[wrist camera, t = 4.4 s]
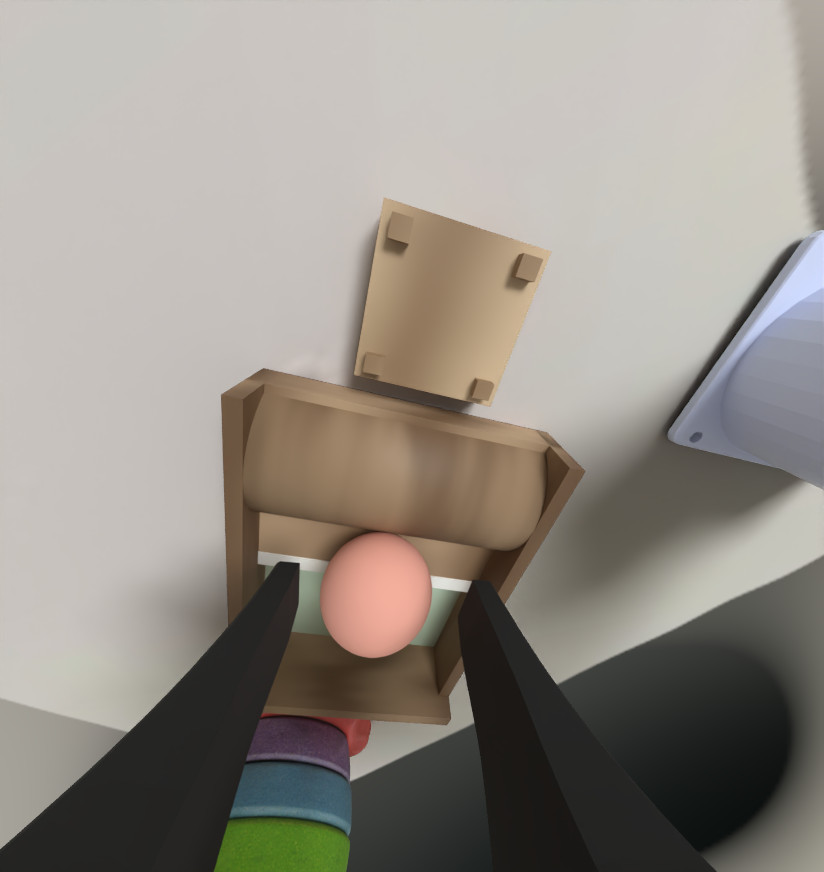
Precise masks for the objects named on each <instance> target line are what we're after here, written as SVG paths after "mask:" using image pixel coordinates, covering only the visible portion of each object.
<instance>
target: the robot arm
mask: <svg viewBox="0 0 824 872" xmlns="http://www.w3.org/2000/svg"><path fill="white" fill-rule="evenodd" d="M668 438H669V440H671V441H672V442H674V443H676V444H678V445H682V446H686V447H691V448H695V449H699V450H703V451H708V452H712V453H716V454H720V455H724V456H729V457H733V458H737V459H741V460H746V461H750V462H754V463H758V464H762V465H767V466H771V467H775V468H779V469H782V470H784V471H786V472H788V473H790V474H792V475H794V476H797V477H799V478H801V479H803V480H805V481H807V482H809V483H811V484H813V485H815V486H817V487H819V488H821V489H823V490H824V230H821V231H817V232H814V233H812V234H810V235H809V236H808V237H806V238H805V239H804V240H803V241H802V243H801V244H800V245H799V246H798V248H797V249H796V251H795V252H794V253H793V255H792V256H791V258H790V259H789V260H788V262H787V263H786V265H785V266H784V268H783V269H782V270H781V272H780V273H779V275H778V276H777V277H776V279H775V280H774V282H773V283H772V285H771V286H770V287H769V289H768V290H767V292H766V293H765V295H764V296H763V297H762V299H761V300H760V302H759V303H758V304H757V306H756V307H755V309H754V310H753V312H752V313H751V314H750V316H749V317H748V319H747V320H746V321H745V323H744V324H743V326H742V327H741V329H740V330H739V331H738V333H737V334H736V336H735V337H734V338H733V340H732V341H731V343H730V344H729V346H728V347H727V348H726V350H725V351H724V353H723V354H722V356H721V357H720V358H719V360H718V361H717V363H716V364H715V365H714V367H713V368H712V370H711V371H710V373H709V374H708V375H707V377H706V378H705V380H704V381H703V382H702V384H701V385H700V387H699V388H698V390H697V391H696V392H695V394H694V395H693V397H692V398H691V399H690V401H689V402H688V404H687V405H686V407H685V408H684V409H683V411H682V412H681V414H680V415H679V417H678V418H677V419H676V421H675V422H674V424H673V425H672V426H671V428H670V429H669V432H668ZM299 578H300V563H295V562H284V561H280V562H278V563H276V565H275V566H274V568H273V569H272V571H271V572H270V574H269V575H268V577H267V578H266V579H265V581H264V582H263V583H262V585H261V586H260V588H259V589H258V590H257V592H256V593H255V594H254V595H253V597H252V598H251V599H250V601H249V602H248V603H247V604H246V606H245V607H244V608H243V609H242V611H241V612H240V613H239V614H238V615H237V617H236V618H235V619H234V620H233V621H232V623H231V624H230V625H229V626H228V628H227V629H226V630H225V631H224V632H223V634H222V635H221V636H220V637H219V638H218V639H217V640H216V642H215V643H214V644H213V645H212V646H211V647H210V648H209V649H208V650H207V652H206V653H205V654H204V655H203V656H202V657H201V658H200V659H199V661H198V662H197V663H196V664H195V665H194V666H193V667H192V668H191V669H190V671H189V672H188V673H187V674H186V675H185V676H184V677H183V678H182V679H181V680H180V681H179V682H178V683H177V684H176V685H175V686H174V687H173V689H172V690H171V691H170V692H169V693H168V694H167V695H166V696H165V697H164V698H163V699H162V700H161V701H160V702H159V703H158V704H157V705H156V706H155V707H154V708H153V709H152V710H151V711H150V712H149V713H148V714H147V715H146V716H145V717H144V718H143V719H142V720H141V721H140V722H139V723H138V724H137V725H136V726H135V727H134V728H133V729H132V730H131V731H130V732H128V733H127V734H126V735H125V736H124V737H123V738H122V739H121V740H120V741H119V742H118V743H117V744H116V745H115V746H114V747H113V748H112V749H111V750H110V751H109V752H108V753H107V754H106V755H105V756H104V757H102V758H101V759H100V760H99V761H98V762H97V763H96V764H95V765H94V766H93V767H92V768H91V769H90V770H89V771H88V772H87V773H85V774H84V775H83V776H82V777H81V778H80V779H79V780H78V781H77V782H75V783H74V784H73V785H72V786H71V787H70V788H69V789H68V790H66V791H65V792H64V793H63V794H62V795H61V796H60V797H59V798H58V799H56V800H55V801H54V802H53V803H52V804H51V805H50V806H49V807H47V808H46V809H45V810H44V811H43V812H42V813H41V814H40V815H39V816H37V817H36V818H35V819H34V820H33V821H32V822H31V823H30V824H29V825H27V826H26V827H25V828H24V829H23V830H22V831H21V832H19V833H18V834H17V835H16V836H15V837H14V838H13V839H12V840H10V841H9V842H8V843H7V844H6V845H5V846H4V847H2V848H1V849H0V872H214V870H215V866H216V863H217V859H218V855H219V852H220V848H221V845H222V841H223V838H224V834H225V831H226V828H227V824H228V821H229V817H230V814H231V810H232V807H233V803H234V800H235V796H236V793H237V789H238V786H239V783H240V779H241V776H242V773H243V769H244V766H245V762H246V759H247V756H248V752H249V749H250V746H251V743H252V740H253V737H254V734H255V731H256V728H257V726H258V723H259V720H260V718H261V715H262V712H263V709H264V707H265V704H266V701H267V699H268V696H269V693H270V690H271V688H272V685H273V682H274V680H275V677H276V674H277V672H278V669H279V666H280V663H281V661H282V658H283V655H284V652H285V650H286V647H287V644H288V641H289V638H290V635H291V631H292V627H293V624H294V620H295V616H296V612H297V609H298V605H299ZM458 626H459V638H460V648H461V655H462V660H463V665H464V671H465V676H466V681H467V686H468V691H469V696H470V702H471V707H472V712H473V717H474V722H475V727H476V732H477V737H478V744H479V749H480V756H481V763H482V772H483V780H484V788H485V795H486V804H487V814H488V824H489V833H490V841H491V852H492V862H493V872H716V871H715V870H714V869H713V867H711V865H709V864H708V863H707V861H706V860H705V859H704V858H703V857H702V856H701V855H700V854H699V853H698V852H697V851H696V850H695V849H694V848H693V847H692V846H691V845H690V844H689V842H688V841H687V840H686V839H685V838H684V837H683V836H682V835H681V834H680V833H679V832H678V831H677V830H676V828H675V827H674V826H673V825H672V824H671V823H670V822H669V821H668V820H667V819H666V818H665V817H664V816H663V815H662V813H661V812H660V811H659V810H658V809H657V808H656V807H655V805H654V804H653V803H652V802H651V801H650V800H649V799H648V797H647V796H646V795H645V794H644V793H643V792H642V791H641V790H640V788H639V787H638V786H637V785H636V784H635V783H634V782H633V780H632V779H631V778H630V777H629V776H628V775H627V773H626V772H625V771H624V770H623V769H622V768H621V767H620V765H619V764H618V763H617V762H616V761H615V760H614V759H613V757H612V756H611V755H610V753H609V752H608V751H607V750H606V749H605V747H604V746H603V745H602V744H601V742H600V741H599V740H598V739H597V738H596V736H595V735H594V734H593V733H592V731H591V730H590V729H589V727H588V726H587V725H586V724H585V722H584V721H583V720H582V718H581V717H580V716H579V715H578V713H577V712H576V711H575V709H574V708H573V707H572V705H571V704H570V703H569V701H568V700H567V699H566V697H565V696H564V694H563V693H562V692H561V691H560V689H559V688H558V686H557V685H556V683H555V682H554V680H553V679H552V678H551V676H550V675H549V673H548V672H547V670H546V669H545V668H544V666H543V665H542V663H541V662H540V660H539V659H538V657H537V656H536V654H535V653H534V651H533V650H532V648H531V646H530V645H529V643H528V642H527V640H526V639H525V637H524V636H523V634H522V633H521V631H520V629H519V628H518V626H517V625H516V623H515V621H514V620H513V618H512V616H511V615H510V613H509V612H508V610H507V608H506V607H505V605H504V603H503V602H502V600H501V598H500V597H499V595H498V593H497V592H496V590H495V588H494V587H493V585H492V583H491V582H490V581H484V580H472V583H471V585H470V588H469V590H468V592H467V595H466V597H465V600H464V602H463V605H462V607H461V610H460V612H459V614H458Z"/></svg>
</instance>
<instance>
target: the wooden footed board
mask: <svg viewBox="0 0 824 872" xmlns="http://www.w3.org/2000/svg"><path fill="white" fill-rule="evenodd" d="M550 254H551V251H548V250H545V249H542V248H539V247H536V246H533V245H529V244H526V243H523V242H520V241H517V240H514V239H511V238H508V237H505V236H502V235H499V234H496V233H492V232H489V231H486V230H483V229H480V228H477V227H474V226H471V225H468V224H465V223H462V222H458V221H455V220H452V219H449V218H446V217H443V216H440V215H437V214H434V213H431V212H428V211H424V210H421V209H418V208H415V207H412V206H409V205H406V204H403V203H400V202H397V201H394V200H390V199H387V198H384V200H383V206H382V212H381V218H380V224H379V229H378V235H377V241H376V247H375V253H374V259H373V265H372V271H371V277H370V282H369V288H368V294H367V300H366V306H365V312H364V318H363V324H362V330H361V335H360V341H359V347H358V353H357V359H356V365H355V371H354V375H357V376H361V377H365V378H369V379H374V380H378V381H382V382H387V383H391V384H395V385H399V386H404V387H408V388H412V389H417V390H421V391H425V392H429V393H434V394H438V395H442V396H447V397H451V398H455V399H459V400H464V401H468V402H472V403H477V404H481V405H485V406H489V407H490V406H491V403H492V401H493V398H494V396H495V393H496V391H497V388H498V386H499V383H500V380H501V378H502V375H503V373H504V370H505V368H506V365H507V363H508V360H509V358H510V355H511V353H512V350H513V348H514V345H515V342H516V340H517V337H518V335H519V332H520V330H521V327H522V325H523V322H524V320H525V317H526V315H527V312H528V310H529V307H530V305H531V302H532V299H533V297H534V294H535V292H536V289H537V287H538V284H539V282H540V279H541V277H542V274H543V272H544V269H545V267H546V264H547V261H548V259H549V256H550Z"/></svg>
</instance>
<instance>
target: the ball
mask: <svg viewBox="0 0 824 872" xmlns="http://www.w3.org/2000/svg"><path fill="white" fill-rule="evenodd" d="M431 601H432V582H431V576H430V573H429V569H428V567H427V564H426V562H425V560H424V559H423V557H422V555H421V554H420V553H419V551H418V550H417V549H416V548H415V547H414V546H413V545H412V544H411V543H410V542H408V541H407V540H405V539H404V538H402V537H400V536H398V535H395V534H391V533H386V532H371V533H367V534H363V535H360V536H358V537H356V538H354V539H352V540H350V541H349V542H347V543H346V544H345V545H344V546H342V547H341V548H340V549H339V550H338V551H337V553H336V554H335V555H334V556H333V558H332V559H331V561H330V562H329V564H328V566H327V568H326V571H325V573H324V576H323V579H322V583H321V589H320V608H321V613H322V617H323V620H324V623H325V625H326V628H327V629H328V631H329V633H330V634H331V636H332V637H333V639H334V640H335V641H336V642H337V643H338V644H339V645H340V646H341V647H343V648H344V649H346V650H347V651H349V652H351V653H353V654H355V655H358V656H362V657H367V658H378V657H384V656H388V655H391V654H393V653H395V652H398V651H399V650H401V649H403V648H404V647H405V646H407V645H408V644H409V643H410V642H411V641H412V640H413V639H414V638H415V637H416V636H417V635H418V633H419V632H420V630H421V629H422V627H423V625H424V624H425V622H426V619H427V616H428V614H429V611H430V607H431Z"/></svg>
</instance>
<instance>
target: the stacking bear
mask: <svg viewBox="0 0 824 872" xmlns="http://www.w3.org/2000/svg"><path fill="white" fill-rule="evenodd" d="M370 730H371V722H370V720H362V719H348V718H333V717H318V716H303V715H288V714H273V713H262V715H261V718H260V720H259V723H258V726H257V728H256V731H255V734H254V737H253V740H252V743H251V746H250V749H249V752H248V756H247V759H246V762H245V766H244V769H243V773H242V776H241V779H240V783H239V786H238V789H237V793H236V796H235V800H234V803H233V807H232V810H231V814H230V817H229V821H228V824H227V828H226V831H225V834H224V838H223V841H222V845H221V848H220V852H219V855H218V859H217V863H216V866H215V870H214V872H346V867H347V862H348V855H349V848H350V843H349V839H348V835H349V833H350V829H351V787H350V785H349V782H350V758H349V757H351V756H354V755H356V754H358V753H360V752H361V751H362V750H363V749H364V748H365V747H366V745H367V742H368V738H369V735H370Z"/></svg>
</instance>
